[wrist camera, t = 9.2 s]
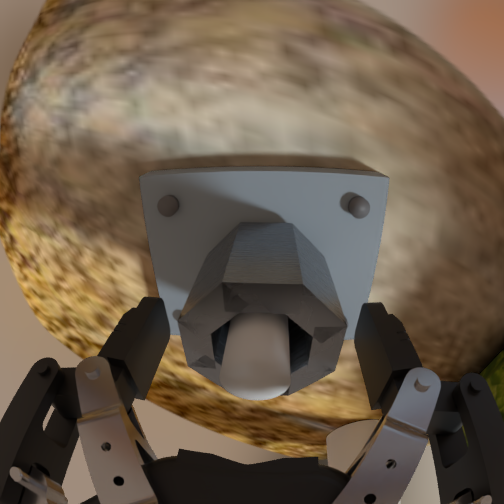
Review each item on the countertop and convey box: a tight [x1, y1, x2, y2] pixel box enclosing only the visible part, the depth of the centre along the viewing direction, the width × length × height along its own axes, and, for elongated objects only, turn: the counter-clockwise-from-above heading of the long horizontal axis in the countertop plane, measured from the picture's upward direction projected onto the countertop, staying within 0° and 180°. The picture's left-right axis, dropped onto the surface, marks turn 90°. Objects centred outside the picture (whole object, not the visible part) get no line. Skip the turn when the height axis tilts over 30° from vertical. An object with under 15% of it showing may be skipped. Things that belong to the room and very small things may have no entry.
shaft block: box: [139, 166, 389, 400], centre depth 12 cm, size 12×10×8 cm
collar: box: [177, 222, 347, 395], centre depth 11 cm, size 6×6×5 cm
